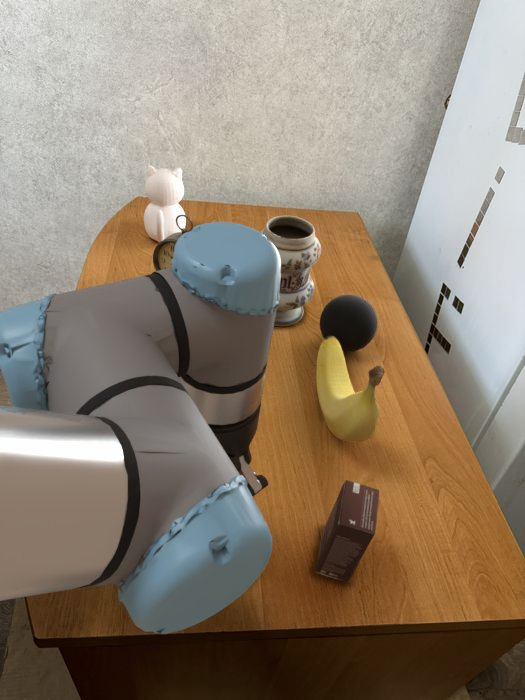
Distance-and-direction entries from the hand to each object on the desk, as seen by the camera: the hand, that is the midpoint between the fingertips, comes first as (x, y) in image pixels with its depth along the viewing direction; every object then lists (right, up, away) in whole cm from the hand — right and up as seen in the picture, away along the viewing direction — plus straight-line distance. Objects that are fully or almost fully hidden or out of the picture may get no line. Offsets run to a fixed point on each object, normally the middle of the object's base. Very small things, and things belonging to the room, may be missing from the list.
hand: (208, 529), depth 62 cm
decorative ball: (+21, +22, +34) cm, 46 cm away
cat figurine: (-15, +46, +54) cm, 72 cm away
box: (+15, -5, +5) cm, 17 cm away
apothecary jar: (+9, +29, +39) cm, 50 cm away
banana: (+18, +11, +22) cm, 30 cm away
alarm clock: (-9, +32, +41) cm, 53 cm away
